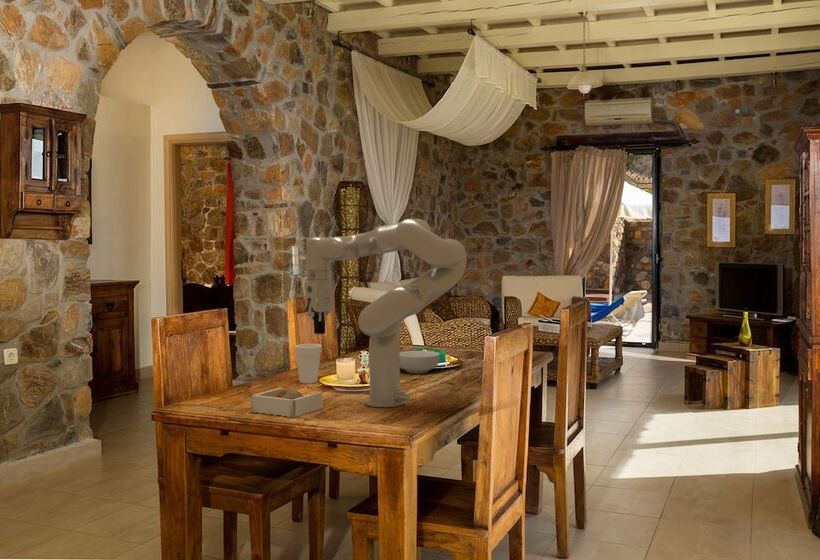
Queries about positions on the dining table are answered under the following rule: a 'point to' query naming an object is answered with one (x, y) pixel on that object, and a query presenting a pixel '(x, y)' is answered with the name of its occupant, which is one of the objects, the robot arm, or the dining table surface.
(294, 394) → the bread roll
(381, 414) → the dining table surface
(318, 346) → the foam cup
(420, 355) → the cereal bowl
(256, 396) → the bin
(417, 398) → the dining table surface
